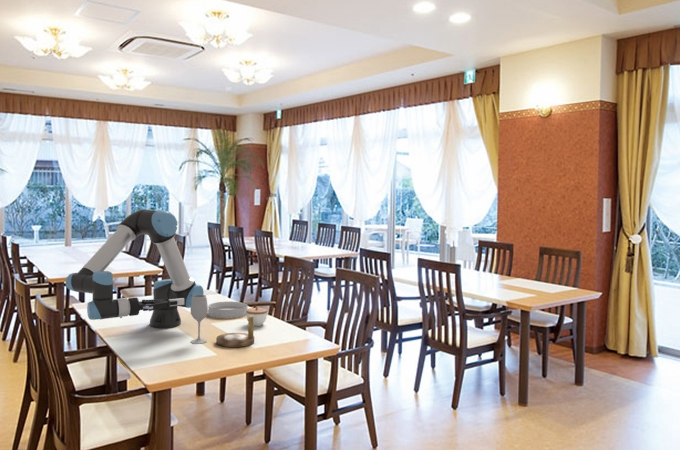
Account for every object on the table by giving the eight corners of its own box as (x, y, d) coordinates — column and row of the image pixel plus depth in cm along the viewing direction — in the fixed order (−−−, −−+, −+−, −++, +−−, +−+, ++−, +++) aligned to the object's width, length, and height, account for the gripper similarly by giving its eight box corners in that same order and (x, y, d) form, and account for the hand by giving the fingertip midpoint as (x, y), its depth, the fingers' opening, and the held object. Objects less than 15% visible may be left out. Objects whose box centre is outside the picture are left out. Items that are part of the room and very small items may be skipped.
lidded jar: (262, 327, 269) (263, 309, 269) (242, 326, 271) (243, 308, 271) (269, 323, 280) (270, 305, 279) (250, 321, 282) (250, 304, 281)
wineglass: (192, 344, 237) (192, 298, 235) (188, 340, 243) (189, 295, 242) (209, 342, 240) (209, 297, 239) (205, 338, 247) (205, 294, 246)
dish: (244, 309, 312) (244, 300, 312) (250, 317, 292) (251, 308, 291) (206, 310, 305) (206, 302, 305) (209, 319, 284) (209, 310, 284)
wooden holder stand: (222, 349, 230) (223, 321, 229) (211, 339, 245) (212, 313, 244) (259, 344, 239) (260, 318, 238) (246, 335, 253) (247, 310, 253)
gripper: (124, 312, 229) (179, 306, 242) (131, 319, 218) (188, 312, 231) (124, 295, 228) (179, 290, 241) (131, 301, 217) (188, 295, 230)
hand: (183, 301), depth 236 cm, fingers closed
